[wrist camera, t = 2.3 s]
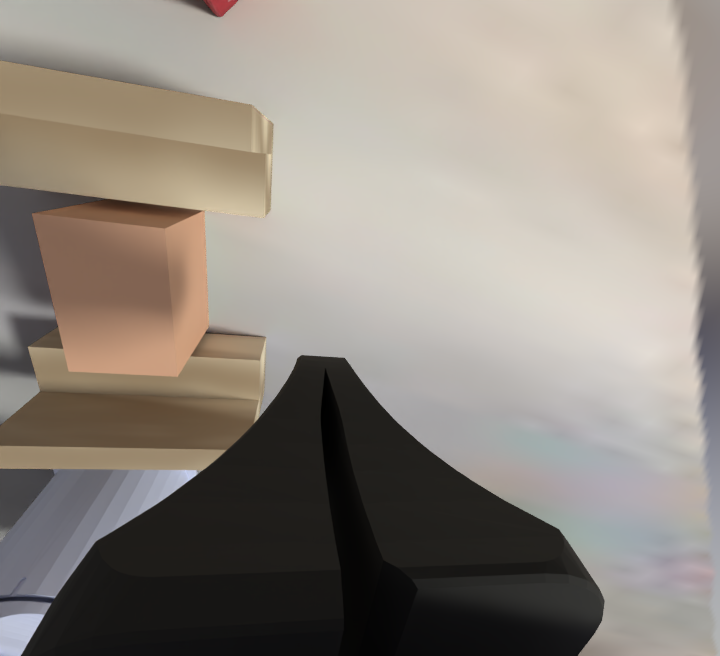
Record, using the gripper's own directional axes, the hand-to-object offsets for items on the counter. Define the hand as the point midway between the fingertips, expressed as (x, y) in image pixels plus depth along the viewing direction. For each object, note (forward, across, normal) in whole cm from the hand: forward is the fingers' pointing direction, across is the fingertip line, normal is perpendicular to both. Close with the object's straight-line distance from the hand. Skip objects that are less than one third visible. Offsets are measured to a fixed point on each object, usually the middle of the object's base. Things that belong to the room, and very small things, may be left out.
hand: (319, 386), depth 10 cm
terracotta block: (+10, +8, 0) cm, 12 cm away
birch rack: (+9, +8, 0) cm, 12 cm away
